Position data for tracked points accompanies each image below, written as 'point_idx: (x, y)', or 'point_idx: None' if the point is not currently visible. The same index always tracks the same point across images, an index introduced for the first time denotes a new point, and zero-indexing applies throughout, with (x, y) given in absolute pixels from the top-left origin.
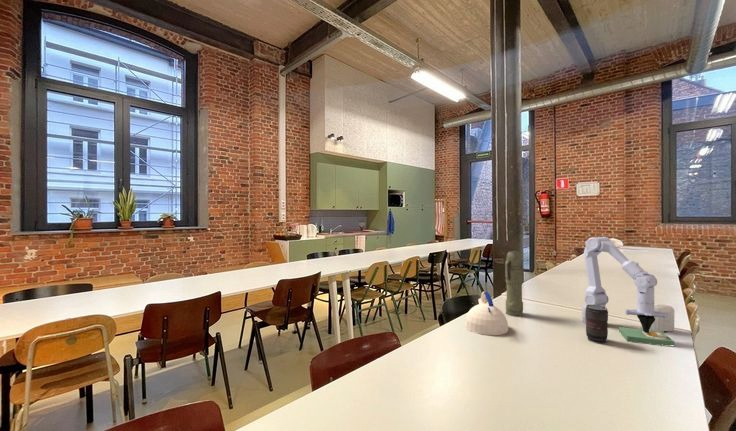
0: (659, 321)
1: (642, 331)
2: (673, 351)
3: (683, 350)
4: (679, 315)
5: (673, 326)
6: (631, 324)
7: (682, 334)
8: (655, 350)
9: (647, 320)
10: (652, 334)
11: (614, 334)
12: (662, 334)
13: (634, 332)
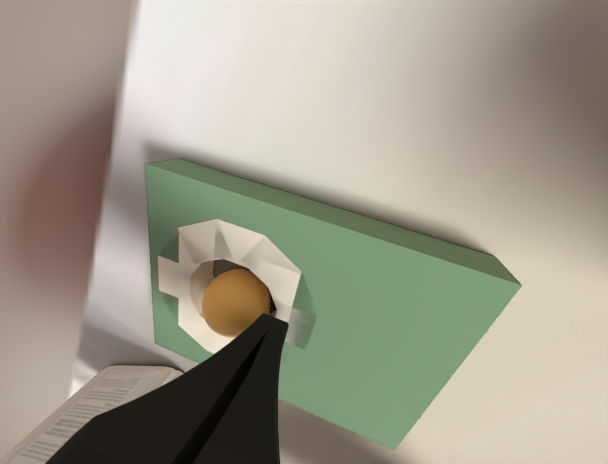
0: None
1: None
2: (229, 38)
3: (150, 87)
4: None
5: (84, 386)
6: None
7: (89, 333)
8: (389, 22)
9: (190, 456)
10: (241, 295)
11: (475, 383)
12: (170, 304)
13: (350, 355)
